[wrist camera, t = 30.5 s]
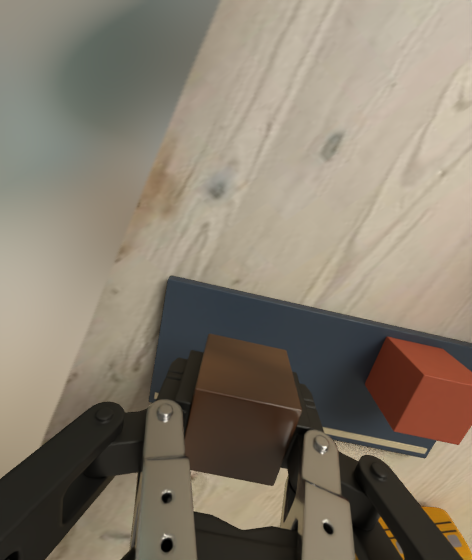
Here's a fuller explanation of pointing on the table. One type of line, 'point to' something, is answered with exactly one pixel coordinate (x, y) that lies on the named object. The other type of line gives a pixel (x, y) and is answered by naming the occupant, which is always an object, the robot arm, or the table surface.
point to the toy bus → (446, 528)
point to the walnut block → (242, 411)
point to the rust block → (422, 391)
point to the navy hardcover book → (298, 353)
